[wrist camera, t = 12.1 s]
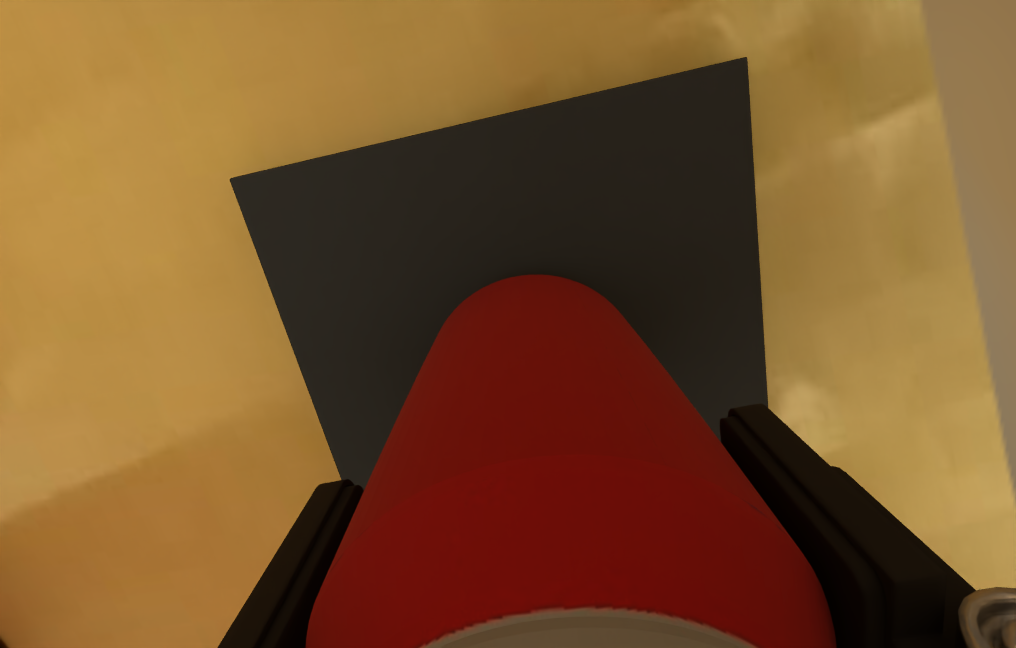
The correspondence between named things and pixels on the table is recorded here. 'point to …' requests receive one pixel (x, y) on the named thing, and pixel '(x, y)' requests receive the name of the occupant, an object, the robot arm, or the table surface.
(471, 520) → the beverage can
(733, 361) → the mat
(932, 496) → the table surface
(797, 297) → the table surface
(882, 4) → the table surface
